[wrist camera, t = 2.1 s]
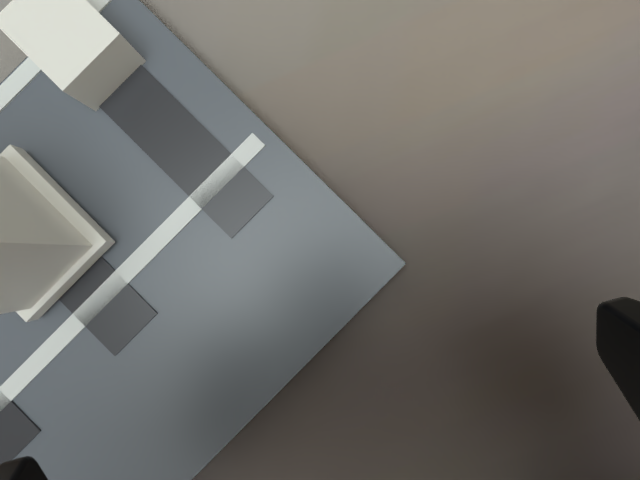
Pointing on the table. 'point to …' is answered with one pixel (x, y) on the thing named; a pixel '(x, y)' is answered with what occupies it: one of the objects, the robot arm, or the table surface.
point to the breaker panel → (164, 251)
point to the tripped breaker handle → (40, 237)
